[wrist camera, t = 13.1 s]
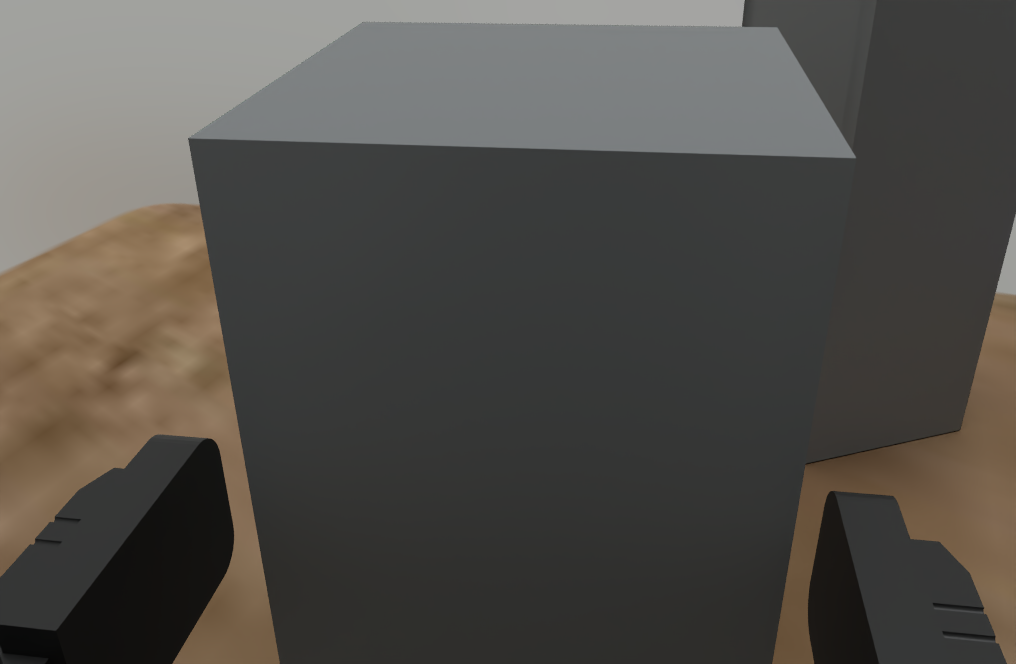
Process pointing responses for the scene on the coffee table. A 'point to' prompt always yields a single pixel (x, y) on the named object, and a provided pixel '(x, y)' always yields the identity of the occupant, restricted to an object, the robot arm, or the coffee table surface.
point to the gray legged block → (527, 337)
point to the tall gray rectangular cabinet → (909, 203)
